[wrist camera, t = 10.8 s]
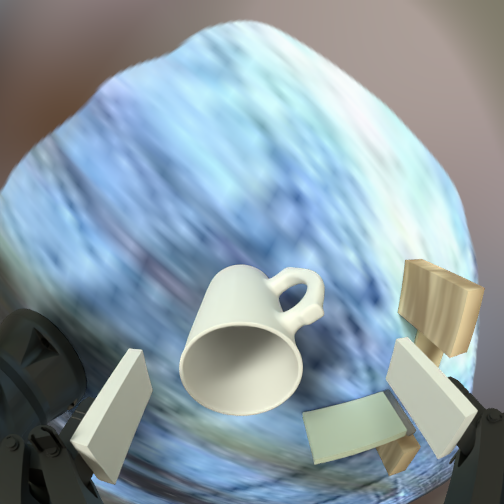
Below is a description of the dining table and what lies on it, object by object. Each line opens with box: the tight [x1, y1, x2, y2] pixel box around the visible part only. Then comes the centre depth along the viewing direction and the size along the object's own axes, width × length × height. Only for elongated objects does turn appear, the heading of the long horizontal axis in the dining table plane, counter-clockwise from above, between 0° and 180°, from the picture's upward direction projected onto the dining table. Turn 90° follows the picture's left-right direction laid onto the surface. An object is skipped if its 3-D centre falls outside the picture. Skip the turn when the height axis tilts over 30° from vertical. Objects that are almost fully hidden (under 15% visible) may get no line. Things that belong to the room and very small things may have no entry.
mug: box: [179, 265, 324, 416], centre depth 19 cm, size 10×7×12 cm, turn 127°
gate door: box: [302, 390, 416, 464], centre depth 25 cm, size 12×1×8 cm, turn 99°
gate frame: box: [376, 259, 485, 476], centre depth 23 cm, size 10×25×10 cm, turn 1°
